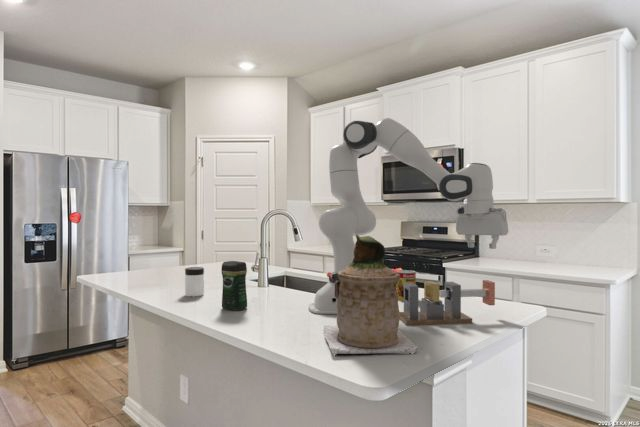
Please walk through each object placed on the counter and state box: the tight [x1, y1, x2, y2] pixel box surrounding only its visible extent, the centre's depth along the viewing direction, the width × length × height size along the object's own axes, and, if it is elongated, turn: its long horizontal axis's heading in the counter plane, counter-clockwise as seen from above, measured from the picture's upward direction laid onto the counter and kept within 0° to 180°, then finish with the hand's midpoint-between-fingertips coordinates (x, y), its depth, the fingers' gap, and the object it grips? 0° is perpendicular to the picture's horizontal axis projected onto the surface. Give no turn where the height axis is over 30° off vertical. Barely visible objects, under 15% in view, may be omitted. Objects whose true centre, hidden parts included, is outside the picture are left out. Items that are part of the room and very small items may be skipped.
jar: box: [184, 266, 205, 298], centre depth 201 cm, size 9×8×12 cm
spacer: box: [423, 280, 440, 302], centre depth 156 cm, size 2×6×6 cm, turn 15°
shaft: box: [439, 279, 496, 306], centre depth 157 cm, size 19×5×8 cm, turn 96°
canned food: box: [396, 269, 417, 302], centre depth 189 cm, size 8×8×12 cm
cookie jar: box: [322, 234, 418, 356], centre depth 131 cm, size 25×25×32 cm
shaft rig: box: [399, 281, 473, 326], centre depth 156 cm, size 23×12×12 cm, turn 96°
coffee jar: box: [220, 260, 248, 311], centre depth 174 cm, size 10×8×19 cm
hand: (481, 248), depth 157 cm, fingers open, 8 cm apart
